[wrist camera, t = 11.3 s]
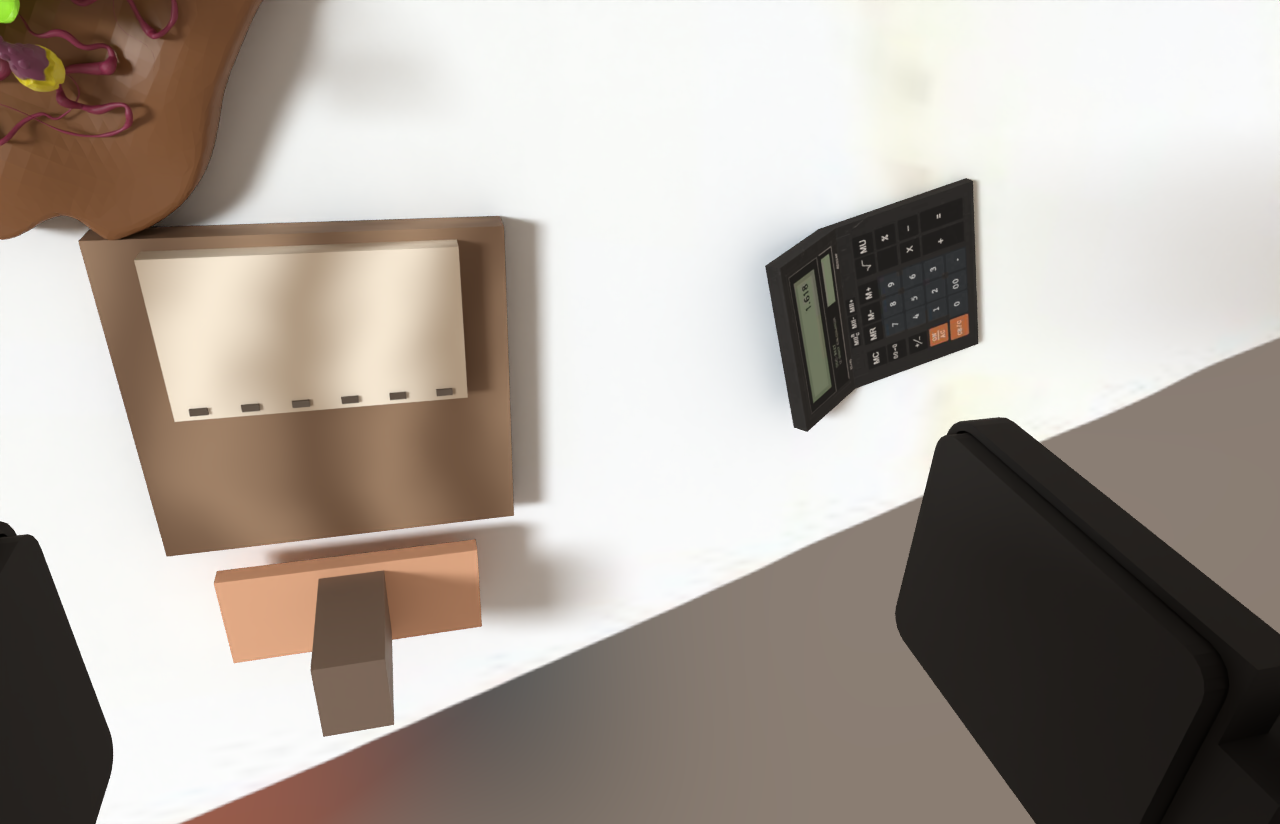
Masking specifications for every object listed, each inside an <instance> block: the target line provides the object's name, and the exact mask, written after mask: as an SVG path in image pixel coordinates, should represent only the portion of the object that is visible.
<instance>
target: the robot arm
mask: <svg viewBox="0 0 1280 824" xmlns="http://www.w3.org/2000/svg"><path fill="white" fill-rule="evenodd" d="M895 615H896V623H897V628H898V630H899V633H900V635H901V637H902V639H903V641H904V642H905V643H906V645H907V646H908V648H909V649H910V650H911V652H912V653H913V655H914V656H915V657H916V658H917V660H918V661H919V663H920V664H921V666H922V667H923V668H924V670H925V671H926V672H927V674H928V675H929V677H930V678H931V679H932V681H933V682H934V684H935V685H936V686H937V688H938V689H939V690H940V692H941V693H942V695H943V696H944V697H945V699H946V700H947V701H948V703H949V704H950V706H951V707H952V708H953V710H954V711H955V713H956V714H957V715H958V716H959V718H960V719H961V721H962V722H963V723H964V725H965V726H966V728H967V729H968V730H969V732H970V733H971V735H972V736H973V737H974V739H975V740H976V742H977V743H978V744H979V746H980V747H981V748H982V750H983V751H984V752H985V754H986V755H987V757H988V758H989V759H990V761H991V762H992V764H993V765H994V766H995V768H996V769H997V770H998V772H999V773H1000V775H1001V776H1002V777H1003V779H1004V780H1005V781H1006V783H1007V784H1008V786H1009V787H1010V789H1011V790H1012V791H1013V793H1014V794H1015V795H1016V797H1017V798H1018V799H1019V801H1020V802H1021V804H1022V805H1023V806H1024V808H1025V809H1026V811H1027V812H1028V813H1029V815H1030V816H1031V817H1032V819H1033V820H1034V822H1035V823H1036V824H1280V634H1279V633H1278V632H1276V631H1275V630H1274V629H1273V628H1271V627H1270V626H1269V625H1268V624H1266V623H1265V622H1264V621H1263V620H1261V619H1260V618H1259V617H1258V616H1256V615H1255V614H1253V613H1252V612H1251V611H1250V610H1249V609H1247V608H1246V607H1245V606H1244V605H1242V604H1241V603H1240V602H1239V601H1237V600H1236V599H1235V598H1234V597H1232V596H1231V595H1230V594H1229V593H1227V592H1226V591H1225V590H1223V589H1222V588H1221V587H1220V586H1219V585H1217V584H1216V583H1215V582H1214V581H1212V580H1211V579H1210V578H1209V577H1207V576H1206V575H1205V574H1204V573H1202V572H1201V571H1200V570H1199V569H1197V568H1196V567H1195V566H1194V565H1192V564H1191V563H1190V562H1189V561H1187V560H1186V559H1185V558H1184V557H1182V556H1181V555H1180V554H1179V553H1177V552H1176V551H1175V550H1173V549H1172V548H1171V547H1170V546H1168V545H1167V544H1166V543H1165V542H1163V541H1162V540H1161V539H1160V538H1158V537H1157V536H1156V535H1155V534H1153V533H1152V532H1151V531H1150V530H1148V529H1147V528H1146V527H1145V526H1143V525H1142V524H1141V523H1140V522H1138V521H1137V520H1136V519H1135V518H1133V517H1132V516H1131V515H1130V514H1128V513H1127V512H1126V511H1125V510H1123V509H1122V508H1121V507H1120V506H1118V505H1117V504H1116V503H1115V502H1113V501H1112V500H1111V499H1110V498H1108V497H1107V496H1106V495H1105V494H1103V493H1102V492H1101V491H1100V490H1098V489H1097V488H1096V487H1095V486H1093V485H1092V484H1091V483H1089V482H1088V481H1087V480H1086V479H1084V478H1083V477H1082V476H1081V475H1079V474H1078V473H1077V472H1075V471H1074V470H1073V469H1072V468H1071V467H1069V466H1068V465H1067V464H1066V463H1064V462H1063V461H1062V460H1061V459H1059V458H1058V457H1057V456H1056V455H1054V454H1053V453H1052V452H1050V451H1049V450H1048V449H1047V448H1046V447H1044V446H1043V445H1042V444H1041V443H1039V442H1038V441H1037V440H1036V439H1034V438H1033V437H1032V436H1031V435H1029V434H1028V433H1027V432H1026V431H1024V430H1023V429H1022V428H1021V427H1019V426H1018V425H1017V424H1016V423H1014V422H1013V421H1011V420H1009V419H1007V418H1000V417H998V418H989V419H979V420H969V421H960V422H958V423H956V424H954V425H953V426H952V427H951V428H950V429H949V431H948V433H947V435H945V436H943V437H941V438H940V440H939V441H938V443H937V445H936V448H935V452H934V456H933V460H932V464H931V468H930V472H929V476H928V480H927V484H926V488H925V492H924V496H923V500H922V504H921V508H920V512H919V516H918V520H917V524H916V528H915V532H914V537H913V541H912V545H911V549H910V553H909V557H908V561H907V565H906V569H905V573H904V577H903V581H902V585H901V589H900V593H899V598H898V601H897V605H896V612H895ZM112 764H113V744H112V738H111V734H110V731H109V728H108V726H107V723H106V720H105V718H104V715H103V712H102V710H101V707H100V704H99V702H98V699H97V696H96V694H95V691H94V688H93V686H92V683H91V680H90V678H89V675H88V672H87V670H86V667H85V664H84V662H83V659H82V656H81V654H80V651H79V648H78V646H77V643H76V640H75V638H74V635H73V632H72V630H71V627H70V624H69V622H68V619H67V616H66V614H65V611H64V608H63V606H62V603H61V600H60V598H59V595H58V592H57V589H56V587H55V584H54V581H53V579H52V576H51V573H50V571H49V568H48V565H47V563H46V560H45V557H44V555H43V552H42V549H41V547H40V545H39V543H38V541H37V540H36V539H35V538H34V537H33V536H31V535H28V534H26V535H16V533H15V531H14V530H13V529H12V528H11V527H10V526H9V525H8V524H7V523H4V522H1V521H0V824H95V823H96V820H97V817H98V814H99V811H100V807H101V804H102V801H103V798H104V795H105V791H106V788H107V785H108V782H109V779H110V775H111V770H112Z"/></svg>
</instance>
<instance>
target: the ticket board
mask: <svg viewBox="0 0 1280 824" xmlns="http://www.w3.org/2000/svg"><path fill="white" fill-rule="evenodd" d="M78 242H79V245H80V249H81V252H82V256H83V260H84V263H85V267H86V270H87V274H88V277H89V281H90V284H91V288H92V292H93V295H94V299H95V302H96V306H97V309H98V313H99V317H100V320H101V324H102V327H103V331H104V334H105V338H106V342H107V345H108V349H109V352H110V356H111V359H112V363H113V367H114V370H115V374H116V377H117V381H118V384H119V388H120V391H121V395H122V399H123V402H124V406H125V409H126V413H127V416H128V420H129V424H130V427H131V431H132V434H133V438H134V441H135V445H136V449H137V452H138V456H139V459H140V463H141V466H142V470H143V474H144V477H145V481H146V484H147V488H148V491H149V495H150V499H151V502H152V506H153V509H154V513H155V516H156V520H157V523H158V527H159V531H160V534H161V538H162V541H163V545H164V548H165V552H166V556H175V555H184V554H192V553H201V552H209V551H218V550H226V549H235V548H243V547H252V546H260V545H269V544H277V543H285V542H294V541H302V540H311V539H319V538H328V537H336V536H345V535H353V534H362V533H370V532H379V531H387V530H396V529H404V528H413V527H421V526H430V525H438V524H447V523H455V522H463V521H472V520H480V519H489V518H497V517H506V516H514V506H513V476H512V447H511V417H510V388H509V358H508V329H507V299H506V270H505V240H504V225H503V223H502V220H501V218H500V216H486V217H455V218H424V219H393V220H362V221H331V222H300V223H269V224H239V225H208V226H177V227H149V228H147V229H144V230H142V231H139V232H137V233H134V234H132V235H129V236H127V237H124V238H121V239H118V240H107V239H104V238H103V237H101V236H100V235H98V234H97V233H96V232H94V231H93V230H91V229H89V230H88V231H87V232H86V234H85V235H84V236H83V237H82V238H81V239H80V240H79V241H78Z"/></svg>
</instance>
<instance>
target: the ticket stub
mask: <svg viewBox="0 0 1280 824" xmlns="http://www.w3.org/2000/svg"><path fill="white" fill-rule="evenodd" d="M214 586H215V590H216V594H217V598H218V602H219V606H220V610H221V614H222V618H223V622H224V626H225V630H226V634H227V638H228V642H229V646H230V650H231V654H232V658H233V662H234V663H238V662H245V661H252V660H258V659H265V658H272V657H279V656H285V655H292V654H299V653H305V652H312V660H311V675H312V680H313V686H314V691H315V696H316V701H317V706H318V711H319V716H320V722H321V727H322V732H323V737H325V736H331V735H337V734H342V733H348V732H354V731H360V730H366V729H371V728H377V727H383V726H389V725H394V705H393V662H392V640H393V639H400V638H407V637H413V636H420V635H427V634H434V633H440V632H447V631H454V630H461V629H467V628H474V627H481V626H482V621H481V604H480V588H479V571H478V555H477V546H476V540H475V539H474V540H466V541H458V542H450V543H441V544H433V545H425V546H417V547H409V548H401V549H393V550H385V551H377V552H369V553H360V554H352V555H344V556H336V557H328V558H320V559H312V560H304V561H296V562H287V563H279V564H271V565H263V566H255V567H247V568H239V569H231V570H223V571H217V573H216V577H215V581H214Z"/></svg>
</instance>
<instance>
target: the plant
mask: <svg viewBox="0 0 1280 824" xmlns="http://www.w3.org/2000/svg"><path fill="white" fill-rule="evenodd" d="M262 1H263V0H0V239H2V240H4V239H10V238H14V237H17V236H19V235H21V234H23V233H25V232H27V231H29V230H31V229H32V228H34V227H35V226H37V225H38V224H40V223H42V222H44V221H46V220H48V219H51V218H54V217H58V216H62V215H63V216H69V217H72V218H75V219H77V220H79V221H81V222H82V223H84V224H85V225H86V226H87V227H89V228H90V229H91V230H93V231H94V232H96V233H97V234H98V235H100V236H101V237H103V238H104V239H107V240H118V239H121V238H124V237H127V236H129V235H132V234H134V233H137V232H139V231H142V230H144V229H147V228H149V227H151V226H152V225H154V224H156V223H158V222H159V221H161V220H162V219H164V218H166V217H167V216H168V215H170V214H171V213H172V212H173V211H175V210H176V209H177V208H178V207H179V206H181V205H182V204H183V203H184V202H185V200H186V199H187V198H188V197H189V196H190V194H191V193H192V192H193V190H194V189H195V187H196V186H197V184H198V183H199V181H200V180H201V178H202V177H203V175H204V173H205V171H206V168H207V166H208V163H209V161H210V158H211V155H212V151H213V148H214V144H215V140H216V136H217V130H218V125H219V119H220V113H221V106H222V100H223V96H224V91H225V88H226V85H227V81H228V78H229V75H230V72H231V70H232V67H233V65H234V62H235V60H236V58H237V55H238V53H239V50H240V48H241V45H242V43H243V41H244V38H245V36H246V33H247V31H248V28H249V26H250V24H251V22H252V20H253V18H254V16H255V14H256V11H257V9H258V7H259V6H260V4H261V2H262Z"/></svg>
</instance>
